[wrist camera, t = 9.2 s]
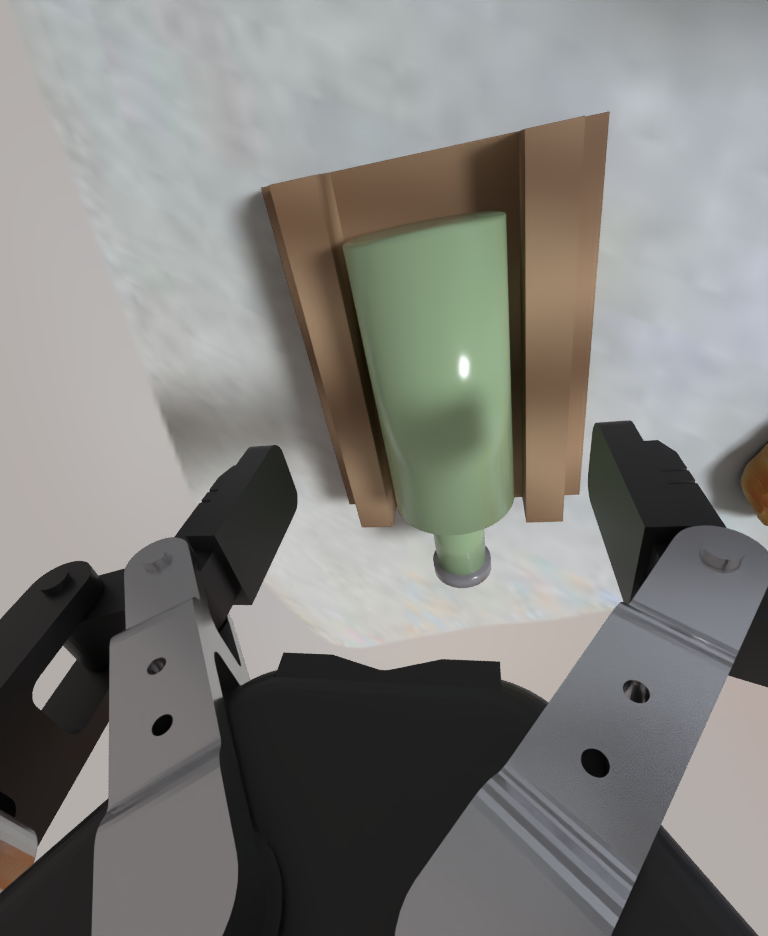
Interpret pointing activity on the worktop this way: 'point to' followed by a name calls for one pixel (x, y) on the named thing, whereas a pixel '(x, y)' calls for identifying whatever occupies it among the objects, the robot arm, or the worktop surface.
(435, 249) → the bottle
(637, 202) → the worktop surface
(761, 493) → the pastry
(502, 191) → the cradle
